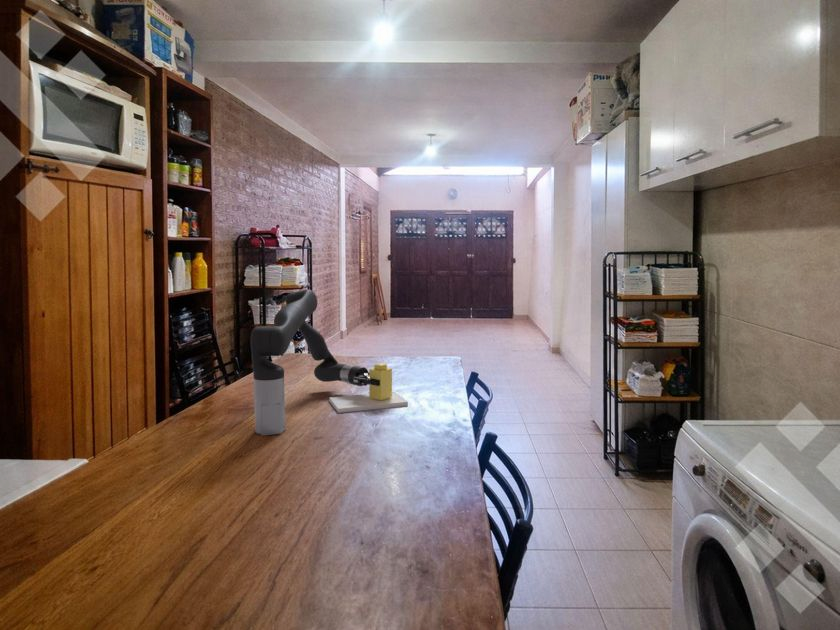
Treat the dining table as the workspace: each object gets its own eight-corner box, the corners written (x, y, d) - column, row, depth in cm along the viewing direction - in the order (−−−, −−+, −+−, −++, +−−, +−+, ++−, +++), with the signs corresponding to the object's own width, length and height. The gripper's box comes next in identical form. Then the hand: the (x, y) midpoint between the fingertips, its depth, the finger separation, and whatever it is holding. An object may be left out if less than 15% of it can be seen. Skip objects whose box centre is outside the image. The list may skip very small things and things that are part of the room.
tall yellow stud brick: (391, 397, 199) (391, 364, 197) (381, 400, 194) (380, 366, 193) (380, 394, 203) (380, 362, 201) (369, 397, 198) (369, 364, 197)
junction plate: (407, 405, 194) (407, 385, 193) (338, 412, 185) (337, 392, 184) (394, 395, 209) (394, 376, 208) (329, 401, 200) (329, 382, 199)
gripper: (340, 368, 201) (372, 374, 190) (367, 362, 212) (398, 368, 201) (340, 387, 201) (372, 395, 191) (367, 381, 213) (398, 387, 202)
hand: (385, 381), depth 196 cm, fingers closed on tall yellow stud brick, 6 cm apart
